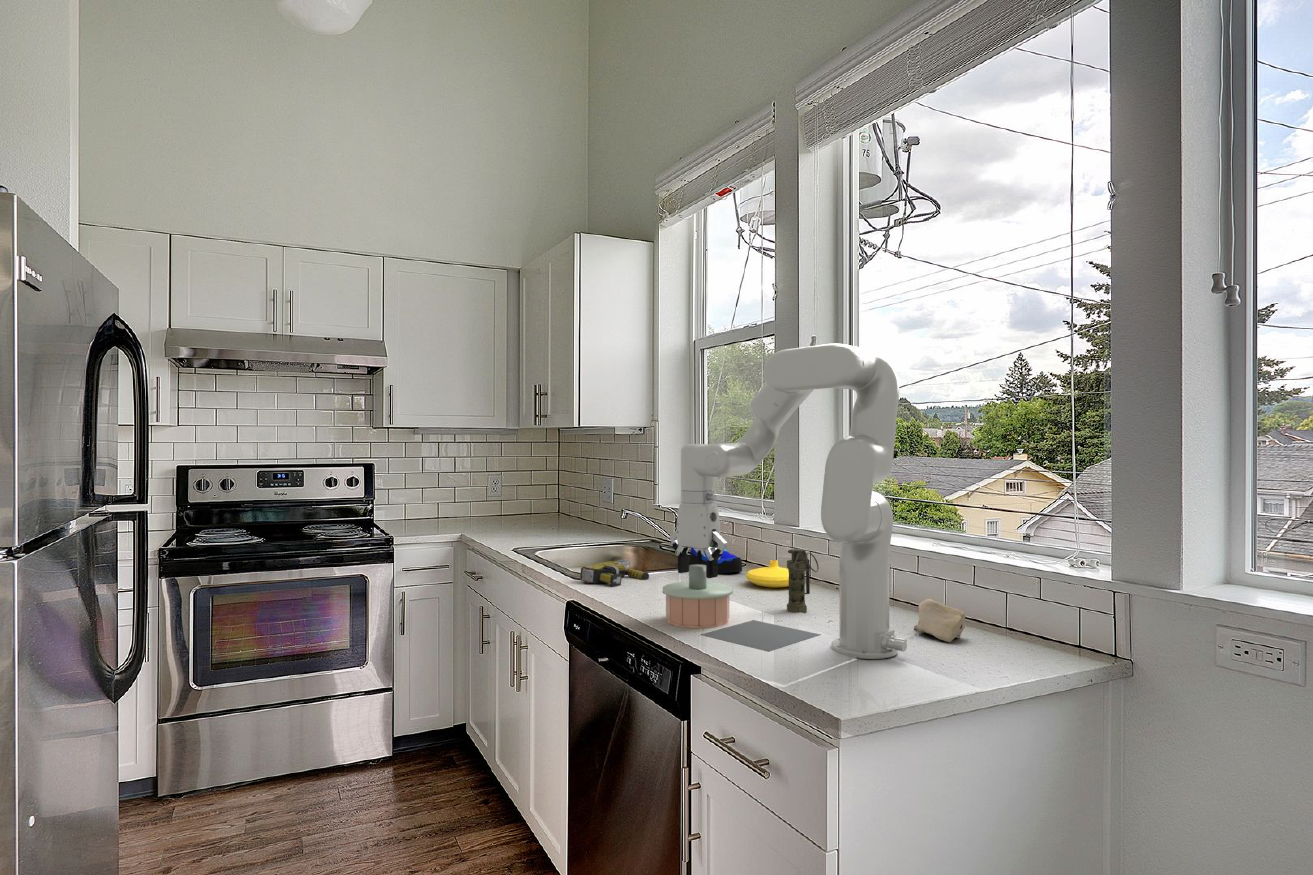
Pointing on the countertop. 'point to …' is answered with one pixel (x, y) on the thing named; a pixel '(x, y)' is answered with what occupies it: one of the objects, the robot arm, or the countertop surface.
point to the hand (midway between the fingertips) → (697, 574)
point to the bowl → (697, 612)
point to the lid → (697, 586)
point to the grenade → (798, 580)
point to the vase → (769, 576)
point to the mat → (760, 635)
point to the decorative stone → (940, 620)
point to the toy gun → (610, 572)
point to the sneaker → (725, 563)
